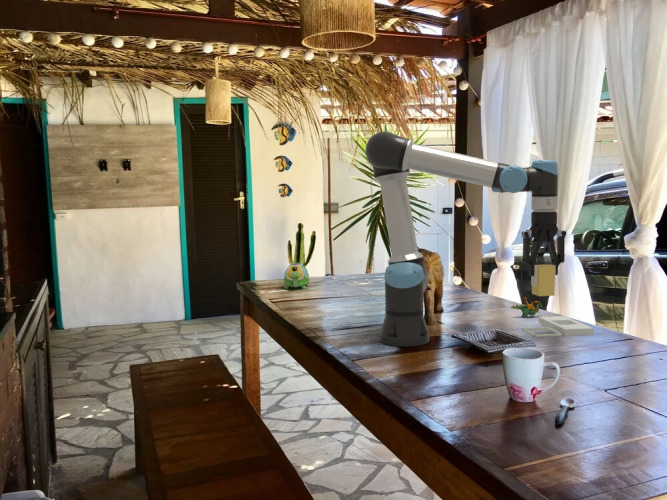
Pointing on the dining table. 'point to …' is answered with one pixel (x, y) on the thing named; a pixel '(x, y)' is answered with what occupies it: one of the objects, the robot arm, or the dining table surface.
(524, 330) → the tray
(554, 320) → the recessed block
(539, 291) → the block
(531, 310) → the figurine
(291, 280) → the turtle holder
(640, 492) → the dining table surface
